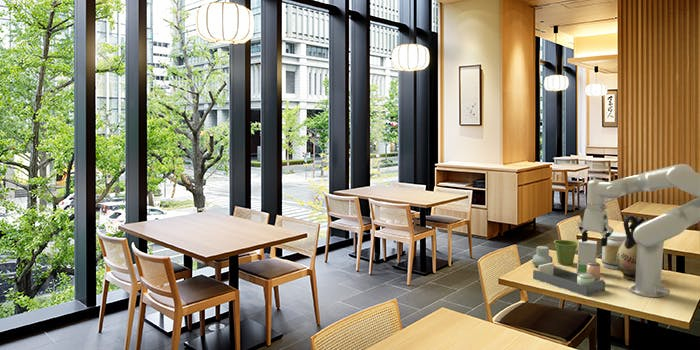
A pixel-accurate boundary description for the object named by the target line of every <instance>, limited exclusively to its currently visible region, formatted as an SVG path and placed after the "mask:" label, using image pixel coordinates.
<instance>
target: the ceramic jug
mask: <svg viewBox="0 0 700 350" xmlns="http://www.w3.org/2000/svg"><path fill="white" fill-rule="evenodd" d="M629 221H631V223H629ZM644 221H646V219H645V218H642V217H640V218H637V217H635V216H634V215H629V214H628V215H626V216H625V217H624V218H623V223H622V224H623V229H624V231H625V234H626V236H627V237H626V240H625V241H624V242H623V244H622V245H621V246H620V248H619V249H618V252H617V256H616V264H617V267H618V268H619V271H620V272H621V273H622V275H623V277H624V279H628V280H634V281H635V279H636V259H637V245H638V243H636V242H635V240H634V238H633V232H634V230H635V228H636V227H637V226H638V225H640V224H641V223H642V222H644Z"/></svg>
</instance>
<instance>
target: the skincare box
mask: <svg viewBox="0 0 700 350" xmlns="http://www.w3.org/2000/svg"><path fill="white" fill-rule="evenodd" d="M597 252H598V241H597V240H590V239H587V241H586V242H582V238H581V239H579V240H578V245H577V261H576V262H577V263H576V264H577V265H576V273H577V274H581V273H587V263H588V262H597Z"/></svg>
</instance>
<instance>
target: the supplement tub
mask: <svg viewBox="0 0 700 350" xmlns="http://www.w3.org/2000/svg"><path fill="white" fill-rule="evenodd" d="M607 233H608V231H607ZM626 237H627V236H626V232H625V233H624V232H617V231H613V232H612V234H611V235H610V236H609V237H608V240H607V246H601V248H602V249H601V264H602V266H603V267H605V268H607V269H610V270H619V268H618V267H617V264H616V256H617V252H618V249H619V248H620V246H621V245H622V244H623V242H624V241H625V240H626ZM619 271H620V270H619Z"/></svg>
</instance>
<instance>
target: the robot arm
mask: <svg viewBox="0 0 700 350" xmlns="http://www.w3.org/2000/svg"><path fill="white" fill-rule="evenodd" d="M669 188H676V189H679V190H681V191H684V192H686V193H688V194H689V195H691V196H695V198H694V199H692V200H690V201H688V202H687V203H684V204H682V205H680V206H678V207H675V208H672V209H670V210H667V211H666V212H664V213H662V214H660V215H658V216H656V217H654V218H652V219H647V220H645V221H644V222H642V223H641V224H640V225H638V226H637V227H636V228H635V230H634V232H633V238H634V240H635V242H636V243H638V245H637V259H636V279H635V280H634V281H635V282H634V283H635V284H634V285H632V286H631V287H630V291H631V292H632V293H634V294H636V295H639V296H642V297H648V298H660V297H664V296H670V294H671V289H669V288H666V287H664V285H665V284H664V283H662V276H663V275H662V272H663V258H664V257H663V255H664V244H665V241H668V240H670V239H672V238H674V237H676V236H679V235H681V234H682V233H683V232H684V231H686V229H687V228H689V227H691V226H693V225H695V224H698V223H699V222H700V173H699V172H696V171H695V170H694V169H693V168H692V167H691V166H690V165H689V164H686V163H679V164H674V165H670V166H666V167H661V168H657V169H654V170H649V171H645V172H642V173H639V174H635V175H630V176H627V177H621V178H619V179H614V180H612V181H611V180H610V181H605V180H602V179H590V180H588V181H587V194H586V208H585V209H584V214H583V219H582V220H580V221H579V222H577V226H578V229H579V231H580V234H581V239H582V242H586V241H587V240H589V238H588V237H589V236H588V235H589V233H588V232H593V233H597V234H600V235H601V243H600V245H601V247H602V246H607V240H608V237H609V236H610V235H611V234H612V232H615V230H614V228H613V227H611V226H610V225H609V217H608V216H609V215H608V211H607V210H608V206H607V205H606V199H607V198H609V199H618V198H620V197H622V196H625V195H630V194H635V193H640V192H654V191H655V192H656V191H659V190H665V189H669ZM607 232H608V233H607Z"/></svg>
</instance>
